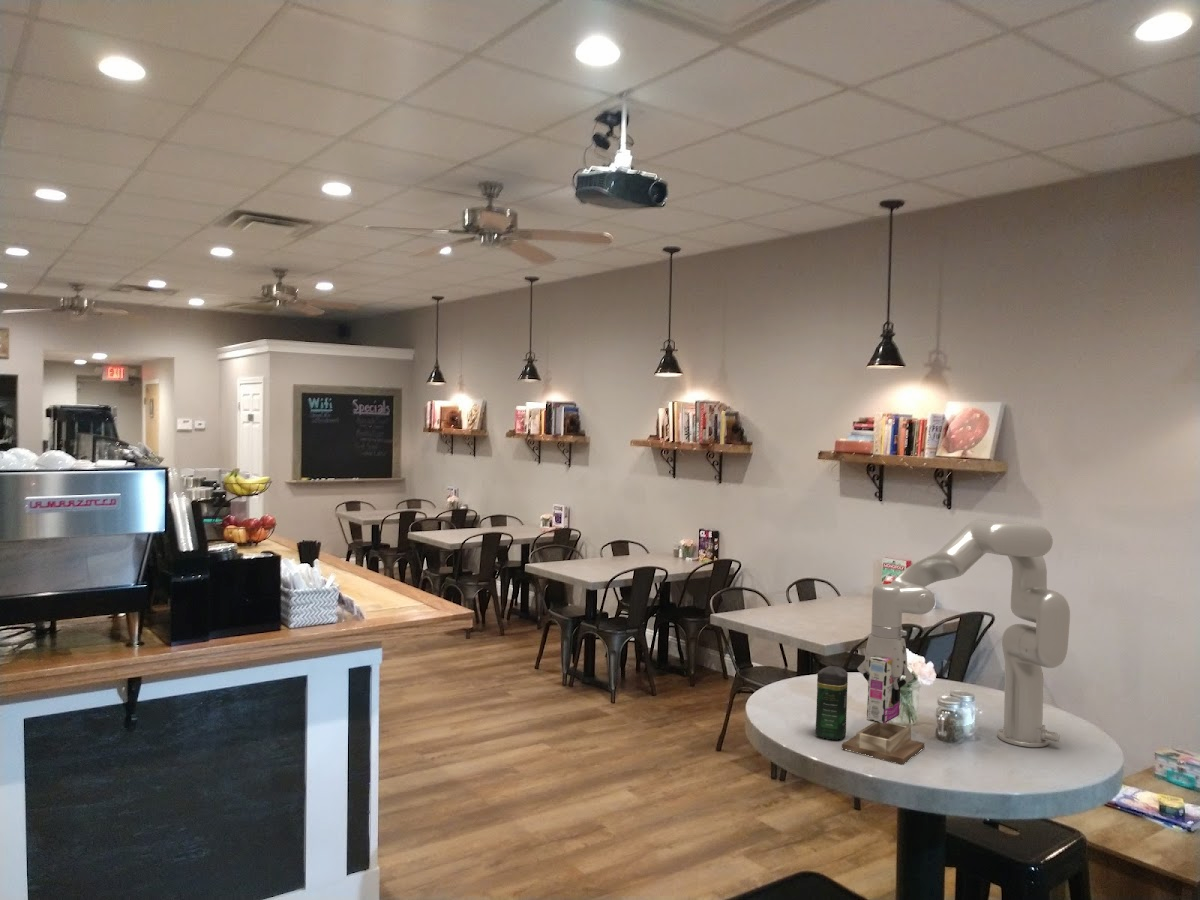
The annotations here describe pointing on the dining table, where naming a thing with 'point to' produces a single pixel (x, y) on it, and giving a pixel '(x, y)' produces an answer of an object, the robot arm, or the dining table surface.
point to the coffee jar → (831, 702)
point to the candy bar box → (880, 691)
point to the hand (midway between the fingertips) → (884, 700)
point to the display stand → (885, 742)
